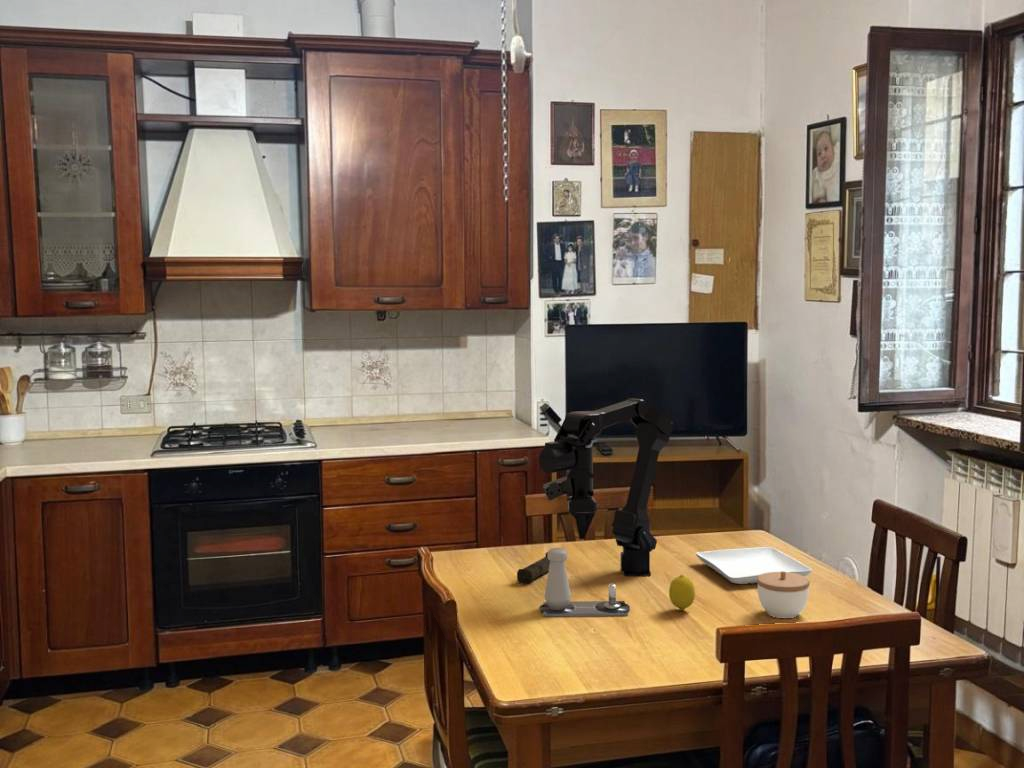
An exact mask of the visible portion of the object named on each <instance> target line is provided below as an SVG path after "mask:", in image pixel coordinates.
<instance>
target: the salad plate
mask: <svg viewBox="0 0 1024 768" xmlns="http://www.w3.org/2000/svg"><path fill="white" fill-rule="evenodd" d="M695 556H696V558H698V559H699V560H700V561H701V562H703V564H705V565H707V566H708V567H710V568H711V569H713V570H714V571H715V572H716V573H718V574H720V575H721V576H722V577H724V578H726V580H728V581H729V582H731V583H733V584H736V585H746V584H747V585H749V584H748V583H751V584H758V583H757V578H758V576H759V575H761V574H764V573H769V572H781V571H785V572H789V573H795V574H799V575H802V576H804V577H806V576H808V575H810V574H812V572H813V568H811V567H809V566H807V565H805V564H803V562H800V561H798V560H797V559H795V558H793V557H792V556H790V555H788V554H785V552H782V551H780V550H778V549H777V548H774V547H773V546H772V547H771V546H760V547H745V548H729V549H728V548H727V549H715V550H708V551H697V552H695Z"/></svg>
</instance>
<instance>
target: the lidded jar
mask: <svg viewBox="0 0 1024 768" xmlns="http://www.w3.org/2000/svg"><path fill="white" fill-rule="evenodd" d="M756 584H757V595H758V600H759V602H760V605H761V607H762V608H763V609H764V611H766V612H767V615H768V614H769V615H768V616H770V615H771V616H774V617H777V618H776V619H779V618H792V619H795V618H797V617H798V615H800V614H801V612H802V611H803V610H804V609H805V607H806V605H807V604H808V603H807V602H808V598H809V592H810V591H809V589H810V588H809V587H810V580H809V579H808V578H807V577H806V576H802V575H799V574H795V573H789V572H785V571H781V572H769V573H764V574H761V575H759V576H758V578H757V583H756ZM771 616H770V617H771ZM796 616H797V617H796ZM774 617H773V618H774ZM794 617H795V618H794Z"/></svg>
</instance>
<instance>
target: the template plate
mask: <svg viewBox="0 0 1024 768" xmlns="http://www.w3.org/2000/svg"><path fill="white" fill-rule="evenodd" d="M606 602H609V600H589V601H588V600H587V601H586V600H585V601H583V600H582V601H579V600H577V601H574V600H573V601H570V602H569V604H568V606H567V608H566V609H563V610H551V609H550V608H549V607H548V605H547V603H546V601H543V602H542V604H541V605H540V606H539V612H540V613H541V614H543V617H544V618H545V617H546V618H547V617H548V618H551V617H555V618H557V617H563V618H565V617H628V616H629V612H630V611H631V606H630V605H629V604H628V603H625V600H616V602H618V603H620V604H621V608H619V609H616V610H609V609H606V608H604V603H606Z"/></svg>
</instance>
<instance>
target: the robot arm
mask: <svg viewBox="0 0 1024 768" xmlns="http://www.w3.org/2000/svg"><path fill="white" fill-rule="evenodd" d="M628 420H630V422H631V424H633V425H634V426H635V428H636V430H635V438H636V440H637V444H638V452H637V456H636V459H635V465H634V468H633V472H632V473H633V474H632V478H631V482H630V486H629V489H628V490H629V491H628V494H627V498H626V503H625V505H624V506H623V507H622V508H621V510H619V509H616V510H615V511H614V517H613V518H614V519H613V522H612V523H611V527H612V531H611V532H612V535H613V536H614V539H615V542H616V545H617V546H618V547H622V551H621V552H620V557H619V558H620V560H619V561H620V571H621V572H622V574H623V576H625V577H626V576H629V577H631V576H634V577H635V576H636V577H637V576H651V575H652V572H651V569H650V568H651V565H650V564H651V563H650V562H651V561H650V560H651V559H650V558H651V553H650V552H653V551H654V550H655V549H656V547H657V543H658V540H657V539H656V538H655V536H653V534H652V533H651V532H650V519H649V515H648V511H647V507H648V502H649V498H650V494H651V491H652V485H653V481H654V476H655V472H656V469H657V463H658V458H659V456H660V452H661V451H662V449H663V448H664V447H665V446H666V445H667V444H668V442H669V440H670V437H671V435H672V431H673V428H674V427H673V426H674V424H673V422H672V420H671V418H670V416H668V415H667V414H664V413H663V412H661V411H660V410H658V409H656V408H655V407H653V406H652V405H650V404H649V403H648V402H647V401H646V400H644V399H641V398H635V397H634V398H627V399H625V400H623V401H621V402H617V403H614V404H611V405H609V406H606V407H603V408H602V407H601V408H600V409H596V410H585V411H584V410H581V411H580V410H579V411H570V412H568V413H567V414H566V415H565V418H564V420H563V421H562V424H561V425H560V428H559V430H558V432H557V433H556V435H555V437H554V440H553V442H550V441H549V442H548V441H547V442H545V443H544V448H543V449H542V450H541V451H540V453H539V456H538V464H539V467H540V469H541V470H542V471H543V473H545V474H552V473H558V472H564V471H566V472H565V476H564V477H559V478H557V479H554V480H552V481H551V480H550V481H549V482H546V483H544V484H543V485H542V488H543V491H544V493H545V496H546V499H547V501H553V500H555V499H556V498H559V497H561V496H564V495H565V498H566V500H567V507H568V508H567V509H568V510H567V511H568V513H569V514H570V515H571V516H572V517H573V518H574V519H575V523H576V528H577V533H578V539H579V540H584V539H586V536H587V533H588V531H589V528H590V526H591V524H592V521H593V519H594V517H595V515H596V512H597V511H598V510H597V501H596V499H595V498H594V497H593V496H594V470H593V469H594V466H593V465H594V463H593V462H594V453H593V452H594V449H593V448H596V447H600V442H599V441H597V440H596V438H595V437H597V436H598V435H601V433H602V431H603V430H605V429H606V428H607V427H610V426H613V425H614V426H615V425H616V424H619V423H622V422H625V421H628Z"/></svg>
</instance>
